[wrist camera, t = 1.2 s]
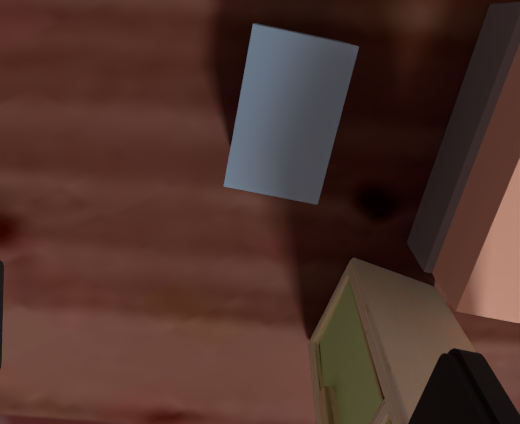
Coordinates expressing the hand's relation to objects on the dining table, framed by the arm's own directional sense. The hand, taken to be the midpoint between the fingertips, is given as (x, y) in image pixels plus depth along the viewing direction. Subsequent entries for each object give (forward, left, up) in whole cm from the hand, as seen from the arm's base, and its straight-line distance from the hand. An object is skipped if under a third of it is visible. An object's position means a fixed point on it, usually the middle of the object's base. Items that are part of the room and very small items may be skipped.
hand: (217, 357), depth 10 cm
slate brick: (-2, +1, -21) cm, 21 cm away
